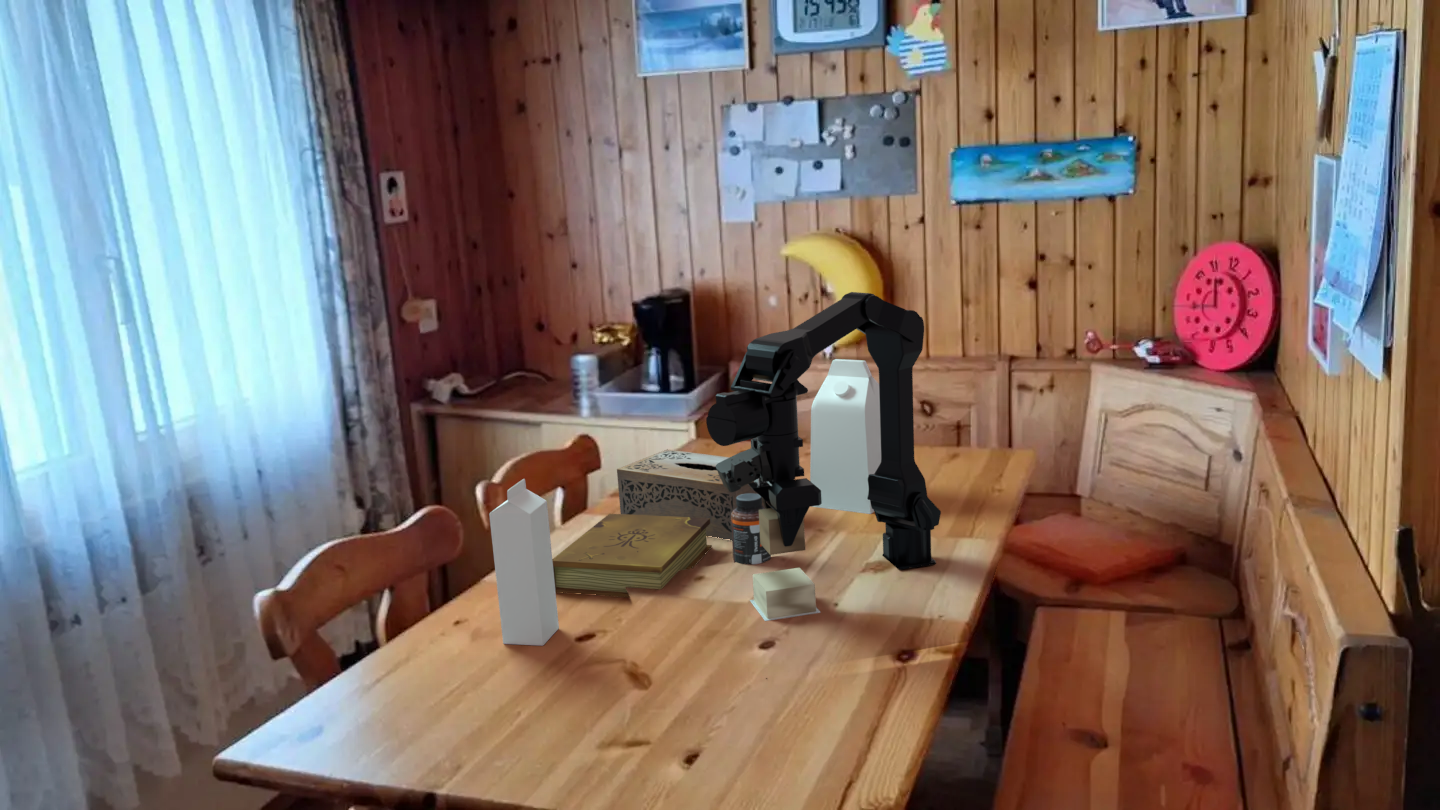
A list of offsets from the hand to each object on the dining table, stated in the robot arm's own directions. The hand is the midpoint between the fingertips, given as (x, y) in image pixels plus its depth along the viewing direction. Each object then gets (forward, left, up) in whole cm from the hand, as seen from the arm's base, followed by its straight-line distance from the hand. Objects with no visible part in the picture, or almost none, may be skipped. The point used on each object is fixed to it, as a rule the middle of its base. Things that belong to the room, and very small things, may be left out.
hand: (782, 539), depth 168 cm
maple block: (0, 0, -10) cm, 10 cm away
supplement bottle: (-1, -21, -11) cm, 24 cm away
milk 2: (-27, -46, -11) cm, 54 cm away
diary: (+17, -27, -12) cm, 34 cm away
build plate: (0, 0, -11) cm, 11 cm away
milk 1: (+35, -6, -11) cm, 37 cm away
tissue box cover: (+1, -47, -12) cm, 48 cm away
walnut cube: (0, 0, -1) cm, 1 cm away
